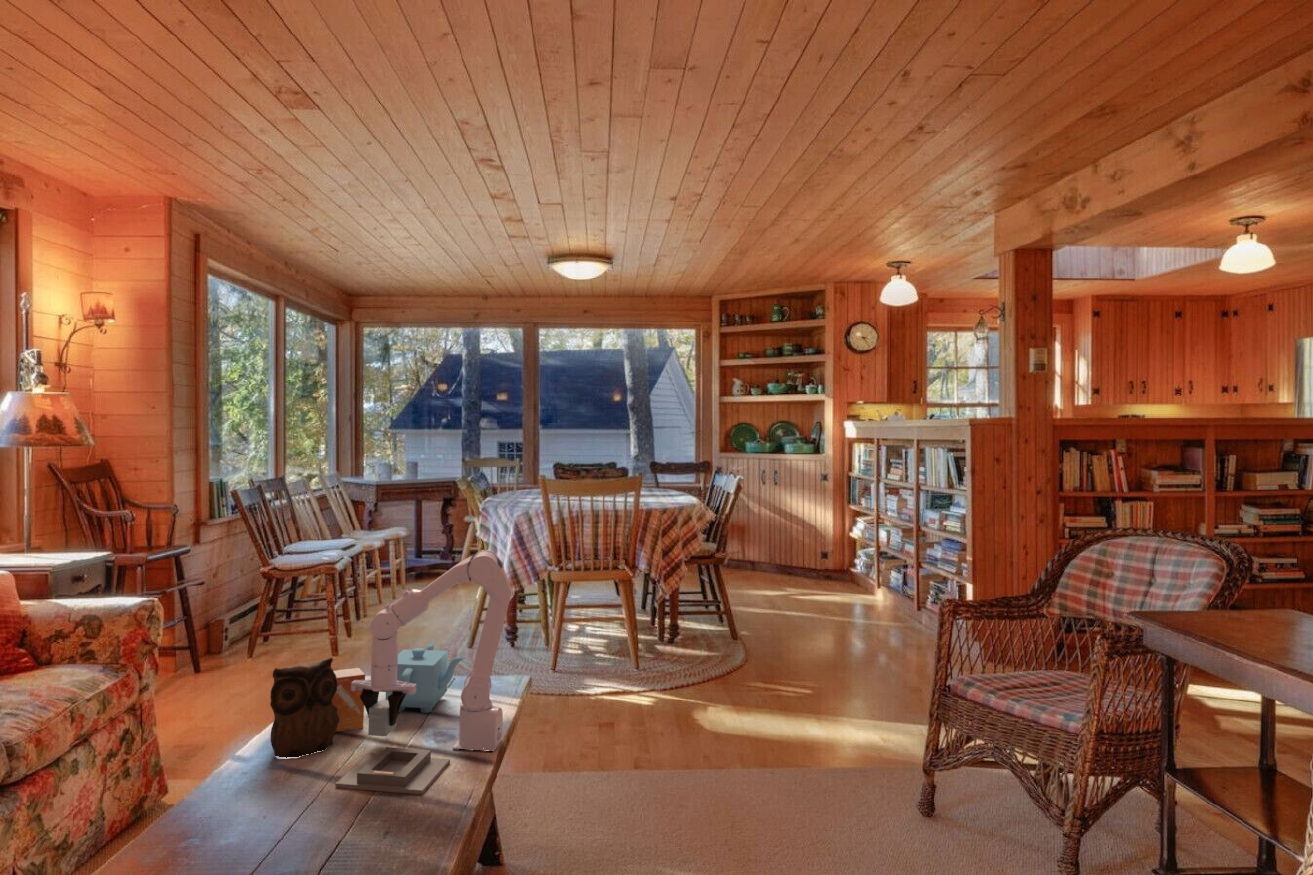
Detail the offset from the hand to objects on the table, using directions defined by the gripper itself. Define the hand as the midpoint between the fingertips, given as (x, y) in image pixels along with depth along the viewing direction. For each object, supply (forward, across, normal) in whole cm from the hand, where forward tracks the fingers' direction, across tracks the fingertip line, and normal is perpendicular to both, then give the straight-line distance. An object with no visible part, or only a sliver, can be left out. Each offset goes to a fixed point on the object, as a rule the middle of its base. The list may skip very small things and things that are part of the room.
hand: (382, 723), depth 192 cm
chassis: (+5, +9, -14) cm, 17 cm away
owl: (+5, -17, -4) cm, 18 cm away
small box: (+5, -14, +10) cm, 18 cm away
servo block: (+2, 0, 0) cm, 2 cm away
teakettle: (+5, -3, +29) cm, 30 cm away
